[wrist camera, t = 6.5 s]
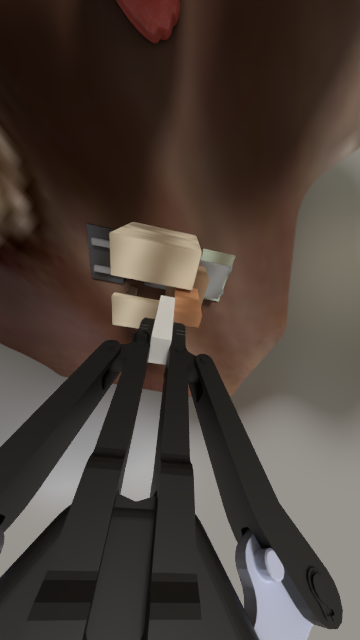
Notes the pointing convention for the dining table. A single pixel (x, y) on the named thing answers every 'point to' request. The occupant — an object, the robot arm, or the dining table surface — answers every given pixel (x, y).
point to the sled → (195, 292)
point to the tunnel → (146, 264)
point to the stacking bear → (152, 16)
